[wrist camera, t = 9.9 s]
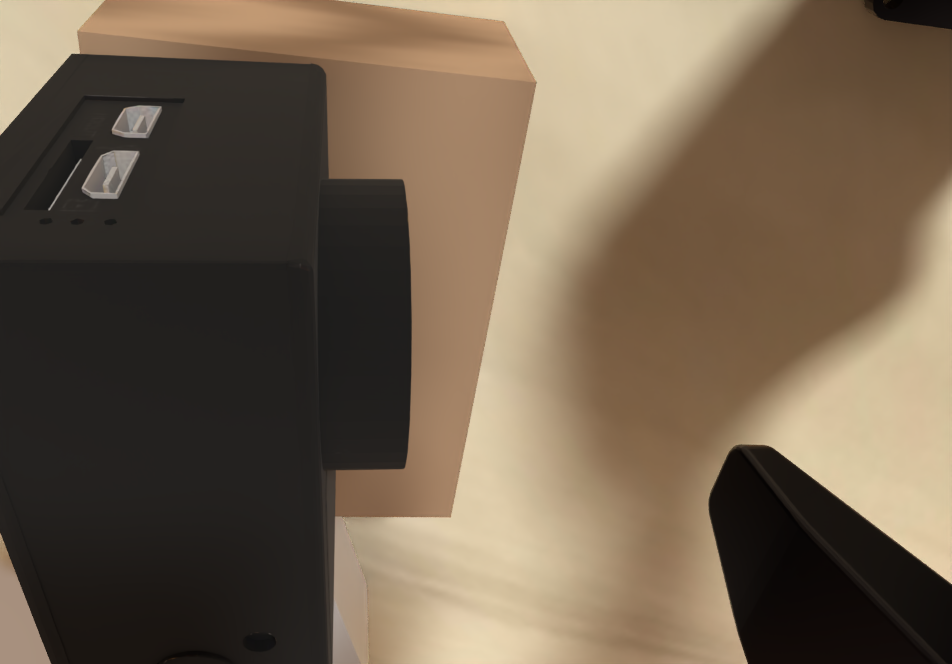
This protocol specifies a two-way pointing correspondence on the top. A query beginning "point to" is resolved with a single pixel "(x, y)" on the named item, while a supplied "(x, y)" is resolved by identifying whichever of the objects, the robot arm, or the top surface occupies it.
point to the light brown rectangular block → (389, 176)
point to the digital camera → (190, 358)
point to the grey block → (349, 602)
